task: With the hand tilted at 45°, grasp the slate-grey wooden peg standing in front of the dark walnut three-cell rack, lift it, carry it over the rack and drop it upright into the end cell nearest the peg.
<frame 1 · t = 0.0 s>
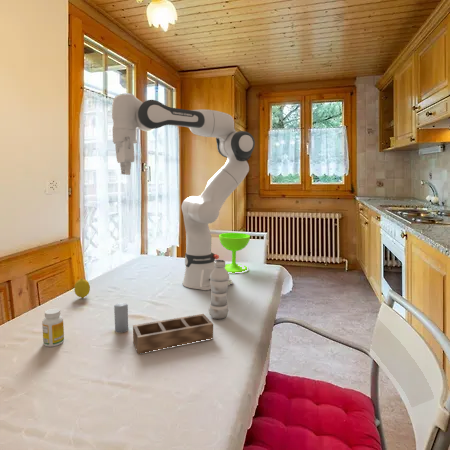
hand: (125, 174, 132), 48 cm above the table, tool pointing down, fingers open, 8 cm apart
slate peg: (121, 329, 107), on the table
plastic bottle: (218, 317, 117), on the table
lemon: (82, 298, 132), on the table
supplement bottle: (54, 343, 98), on the table
wineglass: (233, 270, 176), on the table
walnut rack: (173, 340, 100), on the table
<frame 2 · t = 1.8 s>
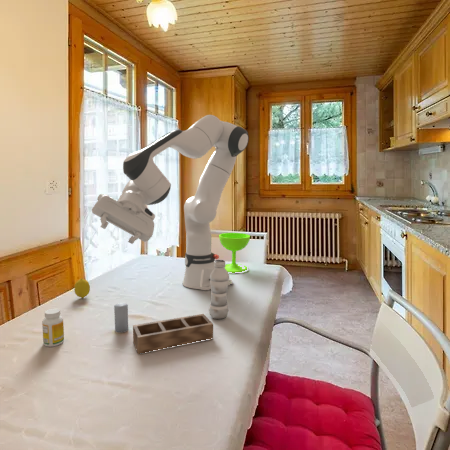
hand: (117, 234, 104), 30 cm above the table, tool tilted 60°, fingers open, 8 cm apart
nothing on the table moved.
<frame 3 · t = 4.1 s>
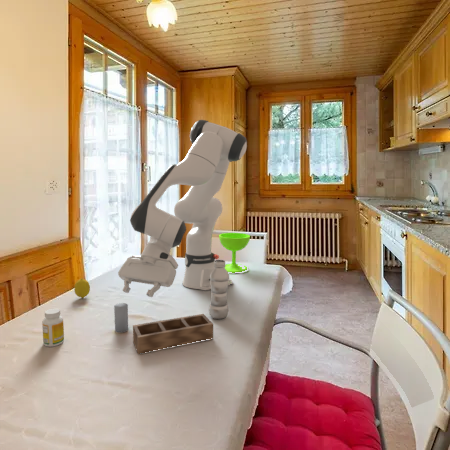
hand: (137, 293, 110), 10 cm above the table, tool tilted 45°, fingers open, 8 cm apart
nothing on the table moved.
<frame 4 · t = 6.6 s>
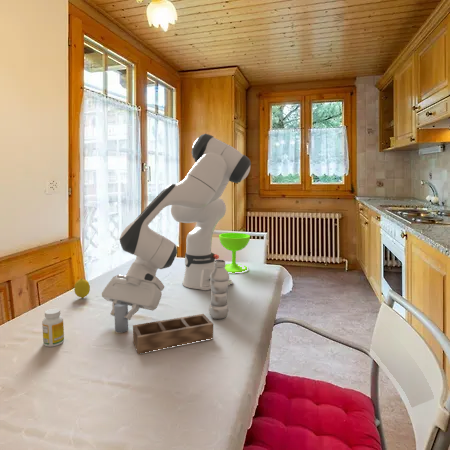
hand: (119, 317, 105), 4 cm above the table, tool tilted 45°, fingers closed on slate peg, 4 cm apart
slate peg: (121, 329, 107), on the table, touching gripper
everything else where it was.
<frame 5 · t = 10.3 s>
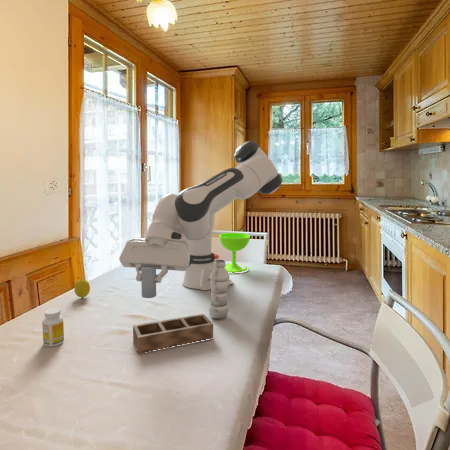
hand: (148, 281, 94), 19 cm above the table, tool tilted 45°, fingers closed on slate peg, 4 cm apart
slate peg: (149, 295, 95), point 15 cm above the table, touching gripper
everything else where it was.
when the fingers open (7 cm above the table, at t = 14.0 s): slate peg drops 1 cm, resting on walnut rack.
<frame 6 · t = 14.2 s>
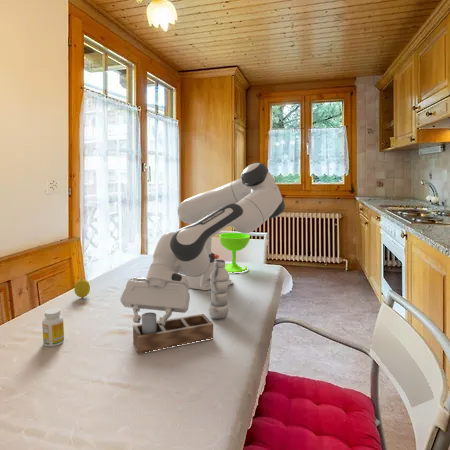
hand: (148, 323, 96), 7 cm above the table, tool tilted 45°, fingers open, 6 cm apart
slate peg: (149, 341, 97), point 1 cm above the table, touching walnut rack
everything else where it was.
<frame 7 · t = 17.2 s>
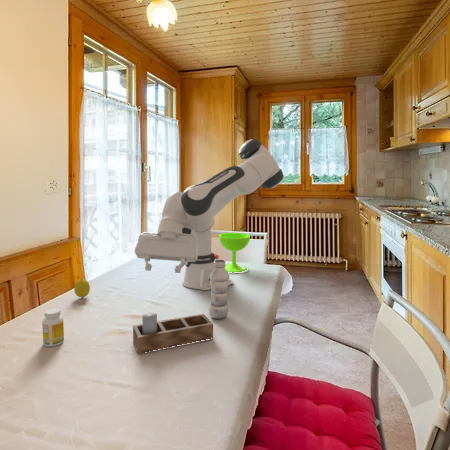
hand: (162, 271, 106), 19 cm above the table, tool tilted 45°, fingers open, 8 cm apart
nothing on the table moved.
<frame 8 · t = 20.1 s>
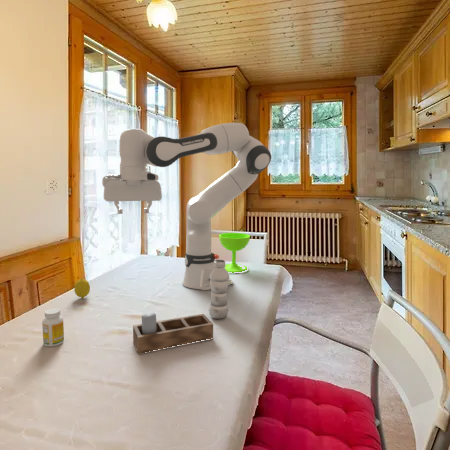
hand: (133, 213, 124), 34 cm above the table, tool pointing down, fingers open, 8 cm apart
nothing on the table moved.
at the end: slate peg 0.1 cm from the target spot on the walnut rack, point 1.0 cm above the walnut rack's base; slate peg tilted 1°; the gripper is holding nothing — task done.
